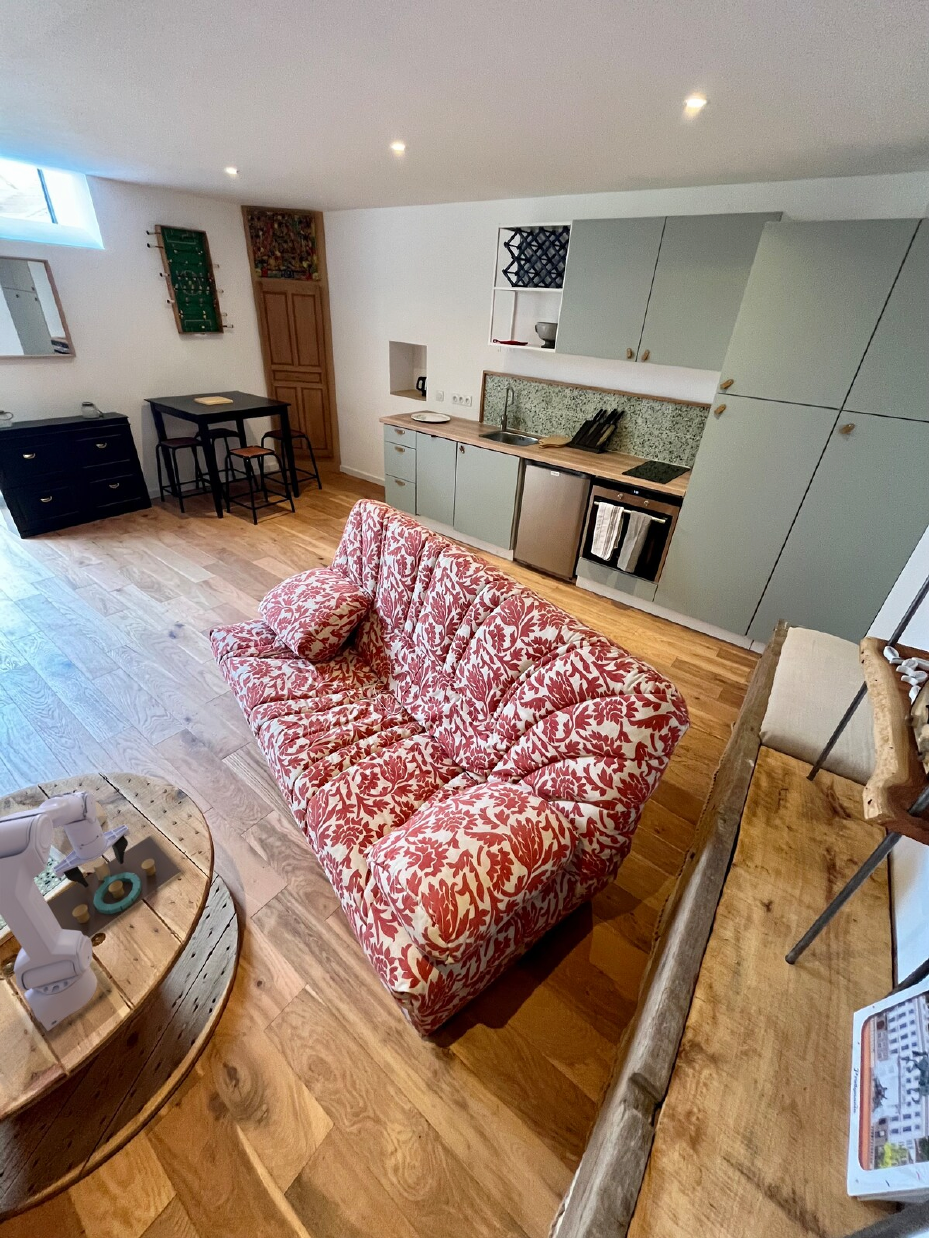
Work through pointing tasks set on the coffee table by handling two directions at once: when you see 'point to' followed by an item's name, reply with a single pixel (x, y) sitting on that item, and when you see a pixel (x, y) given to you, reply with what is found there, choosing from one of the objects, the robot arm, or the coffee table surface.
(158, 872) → the rack
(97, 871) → the ring
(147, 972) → the coffee table surface
